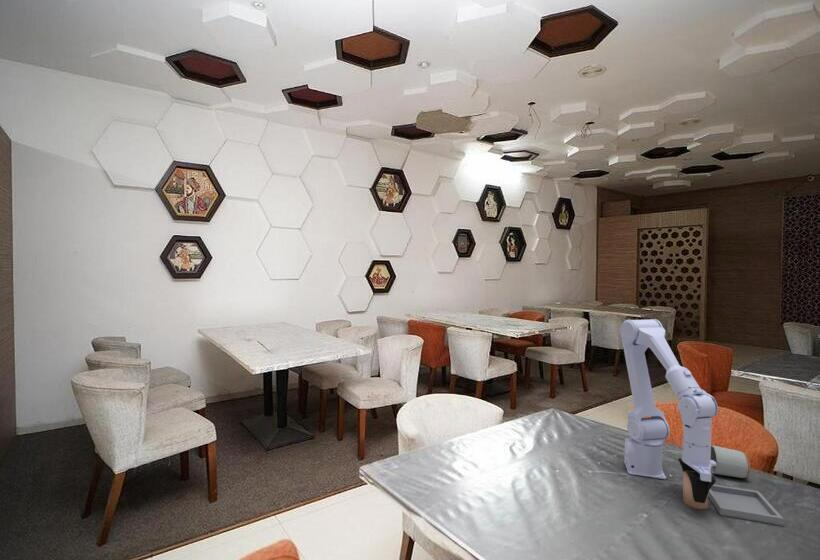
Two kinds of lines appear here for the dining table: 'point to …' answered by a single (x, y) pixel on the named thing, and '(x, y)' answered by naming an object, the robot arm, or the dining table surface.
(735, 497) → the tray
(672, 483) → the dining table surface
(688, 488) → the pink pillar candle
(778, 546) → the dining table surface
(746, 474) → the ceramic mug
